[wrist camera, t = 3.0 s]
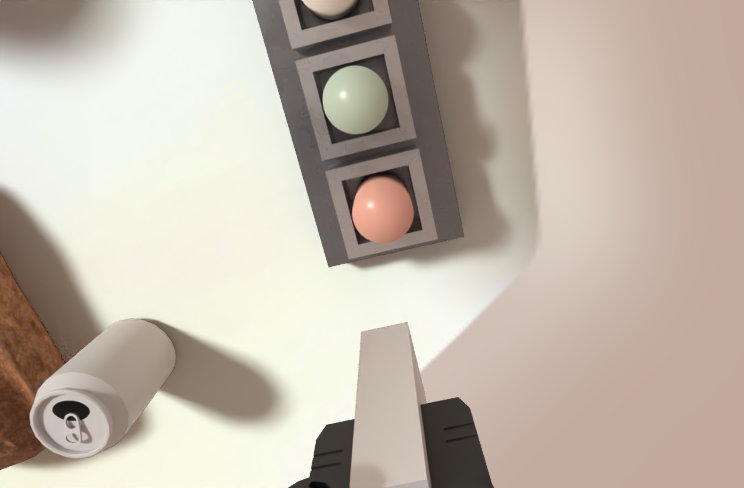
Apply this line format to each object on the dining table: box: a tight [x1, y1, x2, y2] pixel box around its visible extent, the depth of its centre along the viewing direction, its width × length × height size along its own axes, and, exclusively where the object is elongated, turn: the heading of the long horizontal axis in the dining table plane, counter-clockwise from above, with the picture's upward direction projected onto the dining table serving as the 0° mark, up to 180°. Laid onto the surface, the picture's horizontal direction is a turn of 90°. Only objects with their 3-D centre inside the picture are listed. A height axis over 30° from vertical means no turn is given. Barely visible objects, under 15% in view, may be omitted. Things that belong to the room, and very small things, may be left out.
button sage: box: [323, 66, 388, 134], centre depth 35 cm, size 4×4×4 cm
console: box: [252, 0, 464, 267], centre depth 38 cm, size 26×12×6 cm, turn 14°
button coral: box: [352, 173, 414, 243], centre depth 37 cm, size 4×4×4 cm
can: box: [30, 318, 176, 459], centre depth 43 cm, size 8×8×12 cm
